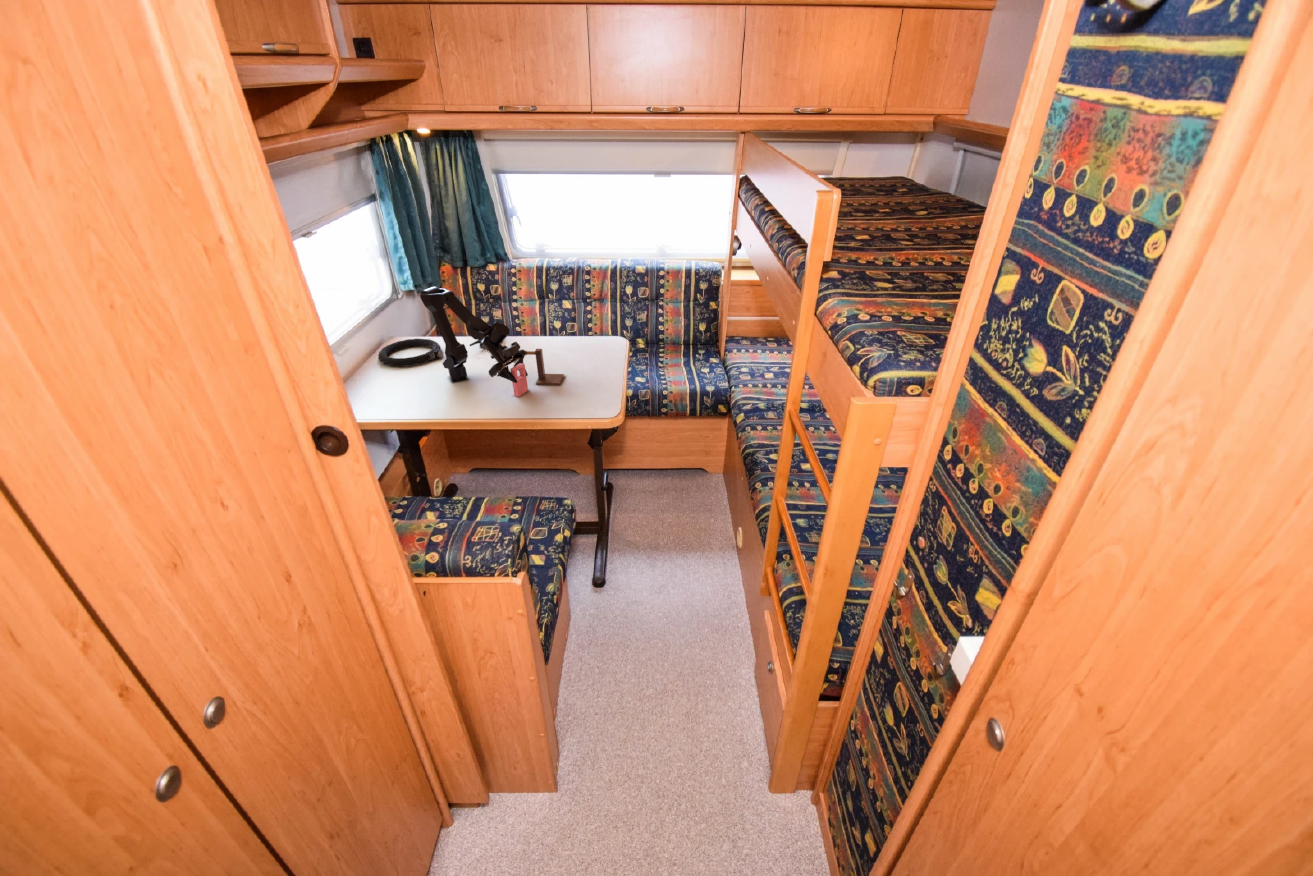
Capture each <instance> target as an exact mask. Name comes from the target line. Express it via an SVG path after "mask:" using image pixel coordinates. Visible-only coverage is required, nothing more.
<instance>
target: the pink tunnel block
mask: <svg viewBox="0 0 1313 876" xmlns="http://www.w3.org/2000/svg"><path fill="white" fill-rule="evenodd" d="M523 363H524V362H523ZM523 363H519V364H518V365H516V366H514V365H513V366H512V367H511V368H509V371H510V372H511V374H512V375H513V376H514V377H515V378H516V380H517V383H514V382H512V381H511V382H512V389H513V395H514V397H517V398H520V396H522V395H523V394H526V393H527V392H528V391H529V385H528V379H527V376H526V372H527V370H526V371H525V369H526V364H525V363H524V364H523ZM518 370H519V371H518ZM518 372H519V375H518Z"/></svg>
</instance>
